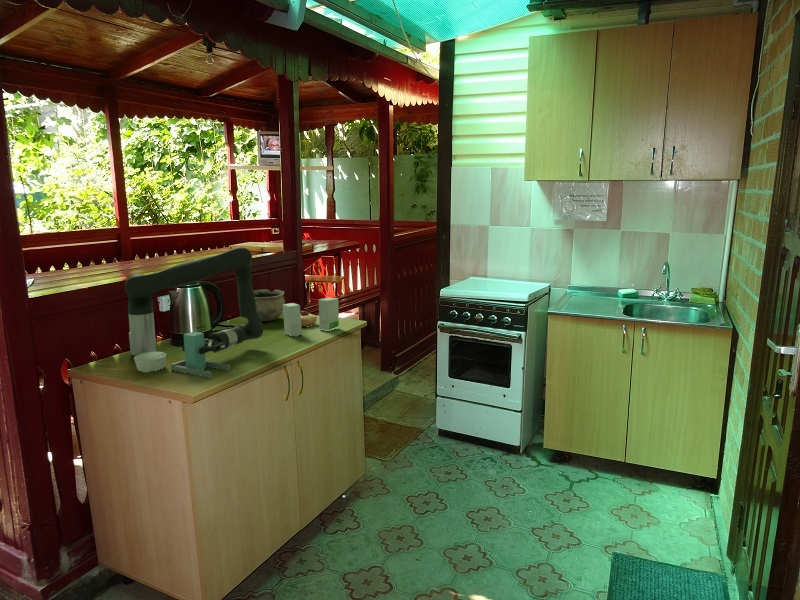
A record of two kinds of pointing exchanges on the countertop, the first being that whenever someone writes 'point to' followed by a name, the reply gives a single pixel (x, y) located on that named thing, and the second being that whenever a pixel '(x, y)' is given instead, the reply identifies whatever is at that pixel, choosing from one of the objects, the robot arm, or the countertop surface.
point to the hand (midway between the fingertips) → (191, 350)
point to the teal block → (194, 350)
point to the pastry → (307, 318)
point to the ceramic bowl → (269, 304)
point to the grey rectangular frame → (182, 368)
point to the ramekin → (150, 361)
